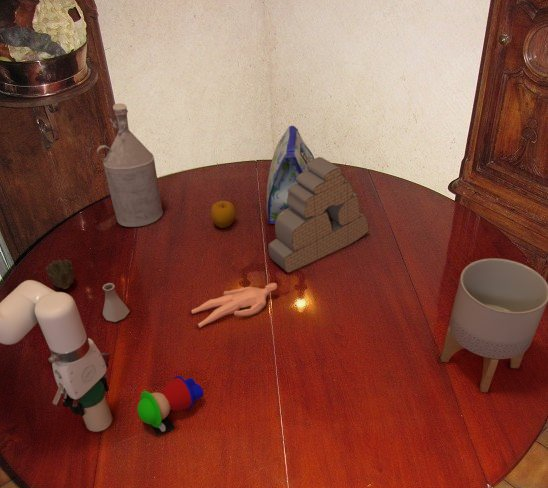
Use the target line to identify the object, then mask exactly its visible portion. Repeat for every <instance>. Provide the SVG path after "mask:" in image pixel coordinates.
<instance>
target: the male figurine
mask: <svg viewBox="0 0 548 488" xmlns="http://www.w3.org/2000/svg"><path fill="white" fill-rule="evenodd" d="M276 289H278V285H277V283H276V282H271V283H268V284H267V285H265V286H264V288H261V287H260V288H259V287H257V286H246V287H240V288H239V289H238V288H236V289H231V290H225V291H223V295H222V296H219V297H216V298H211V299H210V298H209V300H207V301H205V302H204V303H202V304H200V305H199V306H198V307H195V308H193V309H191V314H192V315H194V314H197V313H200V312H203V311H207V310H210V309H214V308H216V309H214V310H213V311H212V312H211V313H210V314H209V315H208V316H207V317H206V318H205V319H203V320H201V321H200V322H199V323H197V327H198V328H199V329H200V328H202V327H204V326H206V325H208V324H210V323H212V322H215V321H216V320H218V319H221V318H223V317H224V316H227V315H232V314H234V316H239V317H251V316H253V315H255V314H258V313H260V312H261V311H262V310H263V309H264V308H265V307H266V306H267V297H268V295H270V292H272V291H275V290H276ZM247 307H250V308H247ZM242 308H245V309H242ZM240 309H241V310H240Z"/></svg>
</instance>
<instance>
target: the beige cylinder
mask: <svg viewBox="0 0 548 488" xmlns="http://www.w3.org/2000/svg"><path fill="white" fill-rule="evenodd" d="M83 411H84V413H85V414H84V416H83V417H82V416H81V417H82V420H83V423H84V426H85V427H86V429H87V430H89V431H90V432H93V433H96V432H97V433H98V432H102V431H104V430H106V429H107V428H109V427H110V425H112V422H113V417H114V416H113V414H112V412H111V409H110V406H109V403H108V400H107V397H106V395H105V396H104V398H103V400H102V401H101V402H100V403H99V404H97V405H95V406H93V407H90V408H83Z"/></svg>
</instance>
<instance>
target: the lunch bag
mask: <svg viewBox="0 0 548 488" xmlns="http://www.w3.org/2000/svg"><path fill="white" fill-rule="evenodd" d="M313 159H315V156H314V155H313V153H312V151H311V150H310V149H309V147H308V146H307V145H306V143H305V141H304V140H303V138H302V136H301V133H300V132H299V129H298V128H297V127H296V126H295V125H289V126H288V128H287V129H286V130H285V132H284V133H283V135H282V136H281V138H280V139H279V141H278V143H277V145H276V147H275V149H274V152H273V157H272V159H271V163H270V167H269V172H268V178H267V186H266V216H267V217H266V218H267V222H268V224H272V225H273V224H274V225H275V223H276V219H277V217H278V216H279V215H280V214H281V213H282V212H284V211H285V210H286V209H288V208H290V206H288V205H287V198H288V190H289V188H290V187H291V186H292V185H294V184H297V183H298V182H297V181H296V177H297V176H298V175H299V174H301V173H302V172H305V171H307V163H308V162H310V161H311V160H313Z"/></svg>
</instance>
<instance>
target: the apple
mask: <svg viewBox="0 0 548 488" xmlns="http://www.w3.org/2000/svg"><path fill="white" fill-rule="evenodd" d="M210 208H211V209H210V218H211V220H212V222H213V223H214V224H215V226H217V228H219V229H225V228H228V227H230V226H231V225H232V224H233V222H234V221H235V220H236V217H237V211H236V208H235V206H234V204H233V203H232V202H231V201H228V200H219V201H216V202H215V203H213V204H212V206H211V207H210Z"/></svg>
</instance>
